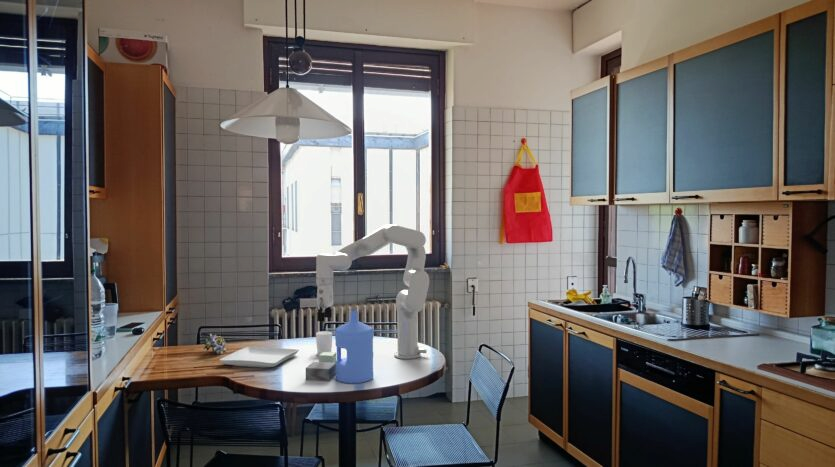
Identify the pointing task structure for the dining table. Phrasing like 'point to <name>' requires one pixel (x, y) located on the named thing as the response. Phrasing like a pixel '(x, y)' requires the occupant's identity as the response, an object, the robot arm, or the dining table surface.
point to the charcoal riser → (320, 371)
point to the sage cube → (327, 357)
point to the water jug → (354, 351)
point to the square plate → (259, 356)
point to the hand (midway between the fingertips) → (324, 319)
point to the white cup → (324, 341)
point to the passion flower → (215, 344)
